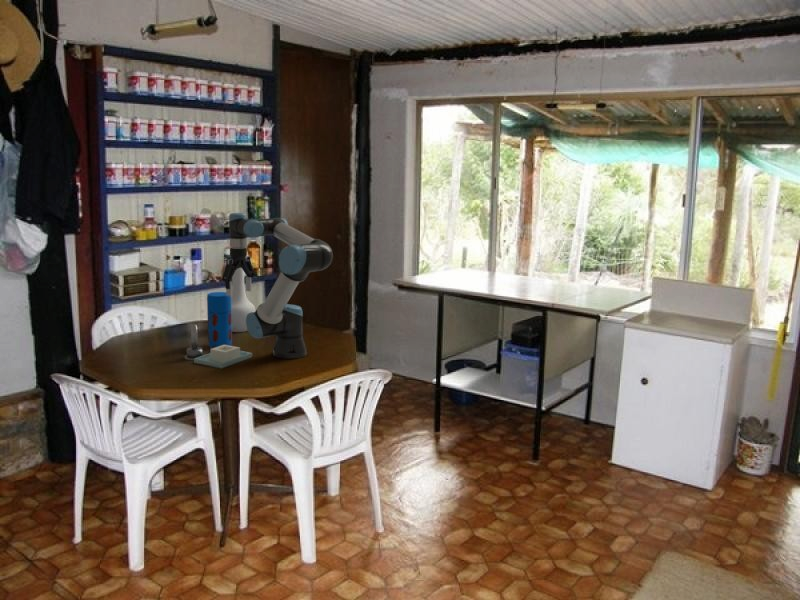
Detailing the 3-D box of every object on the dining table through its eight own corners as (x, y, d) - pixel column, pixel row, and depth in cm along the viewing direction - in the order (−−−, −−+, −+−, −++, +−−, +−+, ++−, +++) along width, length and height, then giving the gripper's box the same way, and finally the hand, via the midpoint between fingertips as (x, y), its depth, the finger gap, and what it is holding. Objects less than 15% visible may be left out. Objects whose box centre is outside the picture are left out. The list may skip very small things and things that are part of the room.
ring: (240, 358, 316) (240, 347, 315) (226, 363, 308) (226, 352, 307) (221, 354, 321) (220, 343, 320) (207, 359, 313) (206, 348, 312)
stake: (209, 356, 319) (208, 324, 316) (195, 361, 311) (194, 328, 308) (194, 353, 323) (193, 321, 320) (180, 358, 315) (178, 325, 312)
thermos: (225, 349, 331) (224, 297, 326) (204, 347, 333) (203, 295, 328) (235, 343, 341) (234, 292, 336) (215, 342, 343) (213, 291, 338)
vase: (221, 326, 373) (220, 260, 366) (253, 325, 378) (252, 259, 371) (223, 334, 358) (222, 265, 351) (257, 332, 363) (256, 264, 356)
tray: (252, 357, 320) (252, 352, 320) (221, 368, 302) (221, 364, 302) (225, 352, 327) (225, 347, 326) (194, 362, 309) (194, 358, 309)
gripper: (249, 244, 334) (250, 288, 339) (212, 249, 313) (214, 296, 317) (262, 245, 331) (262, 290, 335) (226, 251, 309) (227, 298, 314)
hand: (239, 293), depth 326 cm, fingers open, 13 cm apart
